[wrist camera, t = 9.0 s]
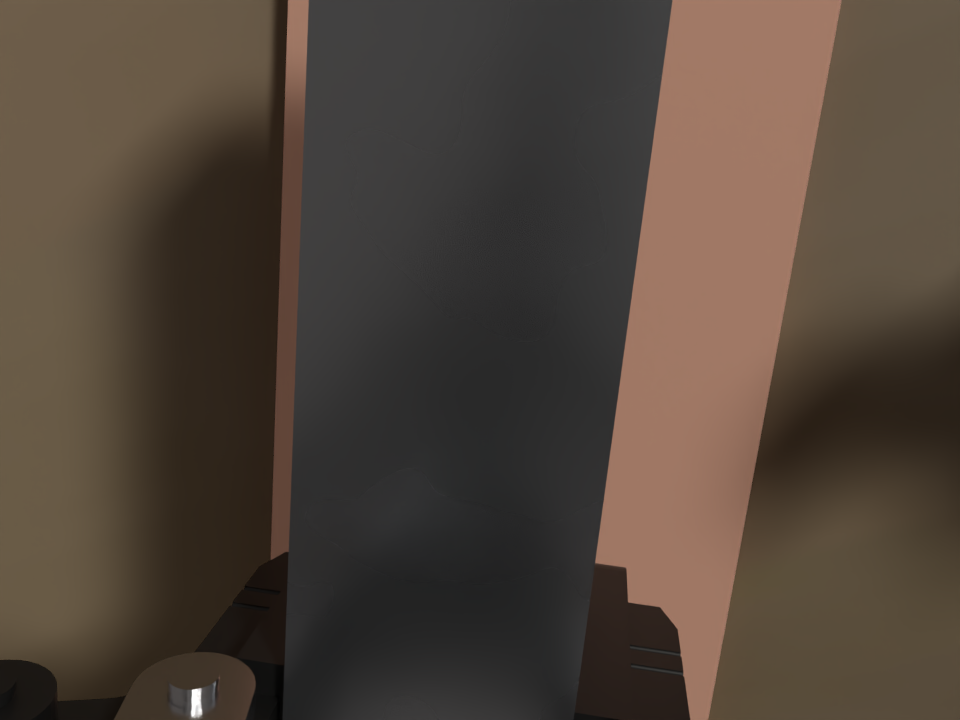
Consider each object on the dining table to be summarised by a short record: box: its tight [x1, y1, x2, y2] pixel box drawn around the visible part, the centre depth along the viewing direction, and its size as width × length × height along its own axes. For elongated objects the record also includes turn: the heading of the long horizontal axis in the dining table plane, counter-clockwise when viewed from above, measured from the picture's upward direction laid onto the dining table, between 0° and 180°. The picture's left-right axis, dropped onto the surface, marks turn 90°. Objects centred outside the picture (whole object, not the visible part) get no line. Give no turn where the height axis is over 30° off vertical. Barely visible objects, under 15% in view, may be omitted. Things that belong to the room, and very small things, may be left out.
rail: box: [283, 0, 672, 720], centre depth 11 cm, size 3×24×3 cm, turn 175°
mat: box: [271, 0, 842, 720], centre depth 20 cm, size 10×28×1 cm, turn 175°
